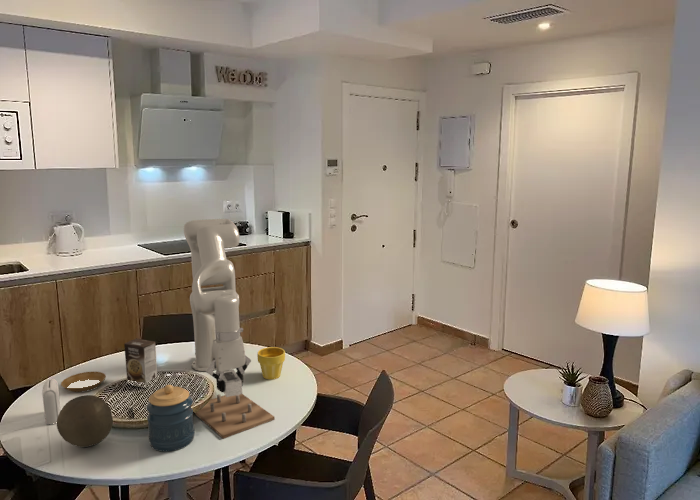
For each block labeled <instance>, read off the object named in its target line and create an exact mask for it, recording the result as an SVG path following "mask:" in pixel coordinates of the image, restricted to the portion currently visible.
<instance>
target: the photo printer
mask: <svg viewBox="0 0 700 500" xmlns="http://www.w3.org/2000/svg"><path fill="white" fill-rule="evenodd" d="M41 391H42V393H41V395H42V402H43V403H42V404H43V410H44V411H43V412H44V419H45V423H46V424H47V425H49V424H50V425H54V424H53V423H55V424H57V423H56V422H57V418H58V415H59V413H60V411H61V410H62V408H61V407H62V406H61V400H60V392H59V383H58V381H57V380H56V379H55V378H49V379H47V380H45V382H44V383H43V386H42V390H41Z"/></svg>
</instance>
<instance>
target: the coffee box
mask: <svg viewBox="0 0 700 500" xmlns="http://www.w3.org/2000/svg"><path fill="white" fill-rule="evenodd" d="M123 345H124V355H125V367H126V368H125V369H126V371H125V372H126V380H127V379H128V380H132V381H137V382H144V383H146V382H148V381H150V380H152V379H154V378H155V377H157V378H158V368H157V367H158V366H157V365H158V363H157V350H156V341H153V340H147V339H143V338H134V339H131V340H129V341H127V342H125V343H124V344H123Z"/></svg>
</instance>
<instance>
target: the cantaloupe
mask: <svg viewBox="0 0 700 500" xmlns="http://www.w3.org/2000/svg"><path fill="white" fill-rule="evenodd" d="M113 424H114V419H113V415H112V409H111V407H110V406H109V404H108V403H106V402H105V401H104V399H102V398H101V397H99V396H98V395H97V396H96V395H92V394H89V395H88V394H85V395H80V396H76V397H74V398H72V399H70V400H68V401H67V402H66V403H65V404H64V405H63V406H62V408H61V411H60V413H59V415H58V418H57V423H56V429H57V431H58V433H59V435H60V436H61V438H62V439H63V440H64V441H65V442H66V443H68V444H70V445H72V446H75V447H78V448H86V447H92V446H96V445H97V444H99V443H101V442H102V441H104V440H105V439H106V438H107V437H108V436H109V434H110V433H111V430H112V427H113Z"/></svg>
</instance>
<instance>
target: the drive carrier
mask: <svg viewBox="0 0 700 500" xmlns="http://www.w3.org/2000/svg"><path fill="white" fill-rule="evenodd" d="M236 372H237V371H235V369H232V370H228V371H224V374H223V377H222V380H223V381H224V392H223V394H224V395H225V396H226V397H230V396H235V395H240V394H243V386H242V383H243V382H242V381H241V379H240V378H239V376H238V375H237V374H236Z"/></svg>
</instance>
